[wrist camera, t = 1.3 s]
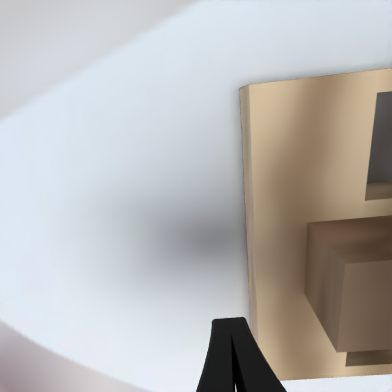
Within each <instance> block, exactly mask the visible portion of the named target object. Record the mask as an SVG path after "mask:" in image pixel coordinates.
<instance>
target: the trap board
mask: <svg viewBox="0 0 392 392" xmlns="http://www.w3.org/2000/svg"><path fill="white" fill-rule="evenodd" d="M240 104H241V126H242V147H243V169H244V190H245V212H246V233H247V255H248V276H249V298H250V319H251V333H252V335H253V337H254V339H255V341H256V343H257V345H258V347H259V348H260V350H261V352H262V354H263V355H264V357H265V359H266V360H267V362H268V364H269V365H270V367H271V369H272V370H273V372H274V373H275V375H276V376H277V378H278V379H279V381H283V380H300V379H316V378H333V377H350V376H367V375H383V374H392V349H385V350H370V351H354V352H339V353H337V352H336V351H335V349H334V347H333V345H332V343H331V342H330V340H329V338H328V336H327V334H326V332H325V331H324V329H323V327H322V325H321V323H320V322H319V320H318V318H317V316H316V314H315V312H314V311H313V309H312V307H311V305H310V303H309V302H308V300H307V298H306V296H305V278H306V253H307V228H308V223H309V222H320V221H331V220H343V219H354V218H365V217H377V216H388V215H392V68H389V69H380V70H371V71H363V72H354V73H345V74H337V75H328V76H319V77H311V78H302V79H293V80H285V81H276V82H267V83H259V84H250V85H247V86H244V87H242V88H240Z"/></svg>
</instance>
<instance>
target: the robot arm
mask: <svg viewBox="0 0 392 392" xmlns="http://www.w3.org/2000/svg"><path fill="white" fill-rule="evenodd" d="M235 384H236V389H237V392H287V391H286V390H285V388H284V387H283V385H282V384H281V382H280V381H279V379H278V378H277V376H276V375H275V373H274V372H273V370H272V369H271V367H270V365H269V364H268V362H267V360H266V359H265V357H264V355H263V354H262V352H261V350H260V348H259V347H258V345H257V343H256V341H255V339H254V337H253V335H252V333H251V331H250V329H249V326H248V324H247V321H246V319H245V318H244V317H236V318H223V319H214V320H213V321H212V329H211V337H210V343H209V348H208V352H207V356H206V360H205V364H204V368H203V371H202V374H201V378H200V381H199V384H198V387H197V390H196V392H235Z"/></svg>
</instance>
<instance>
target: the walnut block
mask: <svg viewBox="0 0 392 392" xmlns="http://www.w3.org/2000/svg"><path fill="white" fill-rule="evenodd" d="M305 296H306V298H307V300H308V302H309V303H310V305H311V307H312V309H313V311H314V312H315V314H316V316H317V318H318V320H319V322H320V323H321V325H322V327H323V329H324V331H325V332H326V334H327V336H328V338H329V340H330V342H331V343H332V345H333V347H334V349H335V351H336V352H337V353H339V352H354V351H370V350H385V349H392V215H388V216H377V217H365V218H354V219H343V220H331V221H320V222H309V223H308V228H307V253H306V278H305Z"/></svg>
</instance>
